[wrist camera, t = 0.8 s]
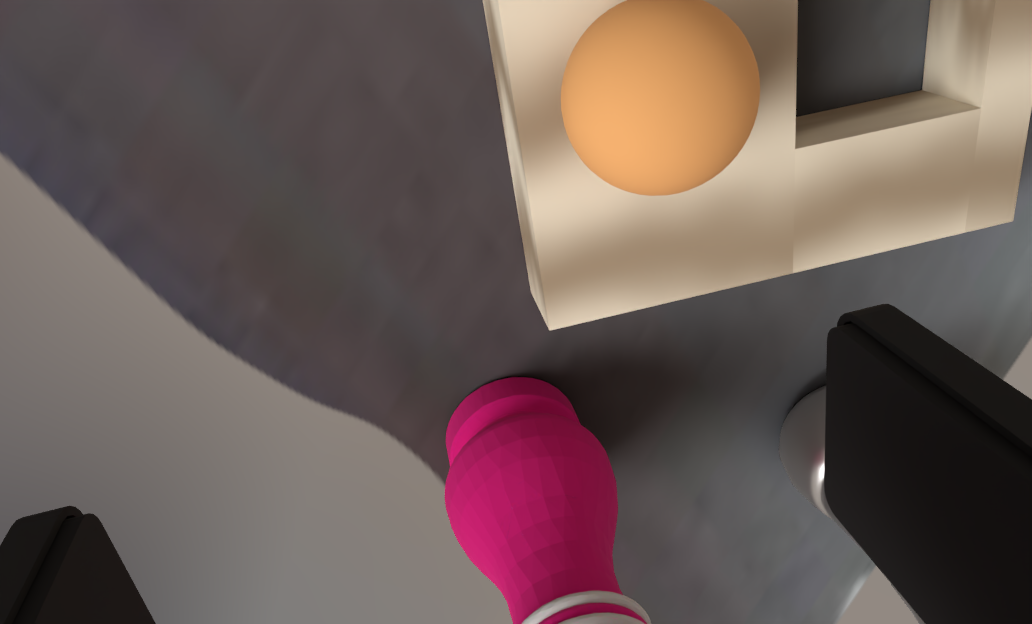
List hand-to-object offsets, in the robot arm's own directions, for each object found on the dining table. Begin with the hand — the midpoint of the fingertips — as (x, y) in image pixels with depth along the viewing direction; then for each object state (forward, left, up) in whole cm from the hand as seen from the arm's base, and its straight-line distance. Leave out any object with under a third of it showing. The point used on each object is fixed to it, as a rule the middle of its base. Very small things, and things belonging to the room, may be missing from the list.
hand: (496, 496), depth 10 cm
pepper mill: (+16, +2, -22) cm, 27 cm away
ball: (0, +8, -15) cm, 17 cm away
